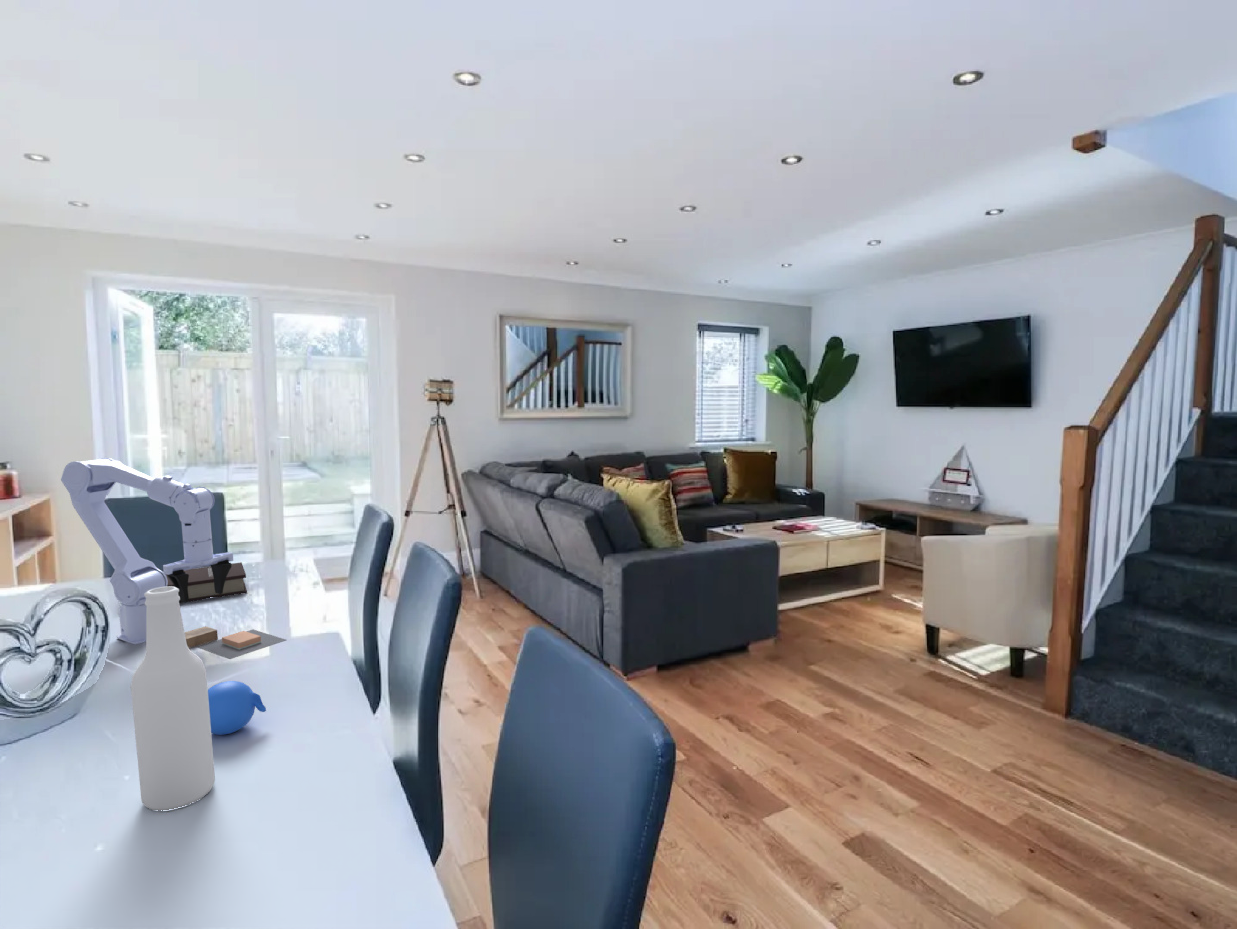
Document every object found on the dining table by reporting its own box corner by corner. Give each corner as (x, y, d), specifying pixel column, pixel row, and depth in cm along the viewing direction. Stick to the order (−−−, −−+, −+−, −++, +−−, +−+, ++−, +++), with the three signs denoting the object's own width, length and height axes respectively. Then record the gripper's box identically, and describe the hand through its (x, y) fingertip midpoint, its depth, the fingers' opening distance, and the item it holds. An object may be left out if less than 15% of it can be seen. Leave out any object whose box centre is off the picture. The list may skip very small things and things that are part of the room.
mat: (196, 648, 152) (196, 646, 152) (253, 630, 163) (253, 629, 163) (229, 660, 145) (229, 658, 145) (287, 641, 156) (286, 639, 156)
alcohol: (134, 820, 90) (113, 603, 87) (150, 786, 98) (131, 585, 95) (210, 804, 94) (193, 594, 91) (219, 772, 102) (203, 578, 99)
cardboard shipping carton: (159, 639, 151) (205, 626, 160) (160, 652, 151) (206, 638, 160) (170, 643, 149) (217, 629, 157) (171, 656, 149) (218, 642, 157)
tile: (221, 637, 154) (238, 643, 150) (243, 630, 158) (260, 636, 154) (222, 643, 154) (239, 649, 150) (244, 636, 158) (261, 642, 154)
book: (242, 579, 212) (241, 560, 211) (247, 594, 195) (245, 574, 195) (133, 594, 197) (131, 575, 196) (128, 612, 180) (126, 590, 180)
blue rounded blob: (281, 707, 123) (278, 662, 122) (258, 739, 111) (254, 691, 110) (209, 713, 121) (205, 668, 120) (178, 747, 109) (174, 697, 108)
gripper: (172, 548, 148) (177, 608, 150) (238, 536, 160) (242, 591, 162) (156, 545, 152) (161, 603, 153) (222, 533, 164) (226, 587, 166)
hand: (202, 597), depth 158 cm, fingers open, 7 cm apart
